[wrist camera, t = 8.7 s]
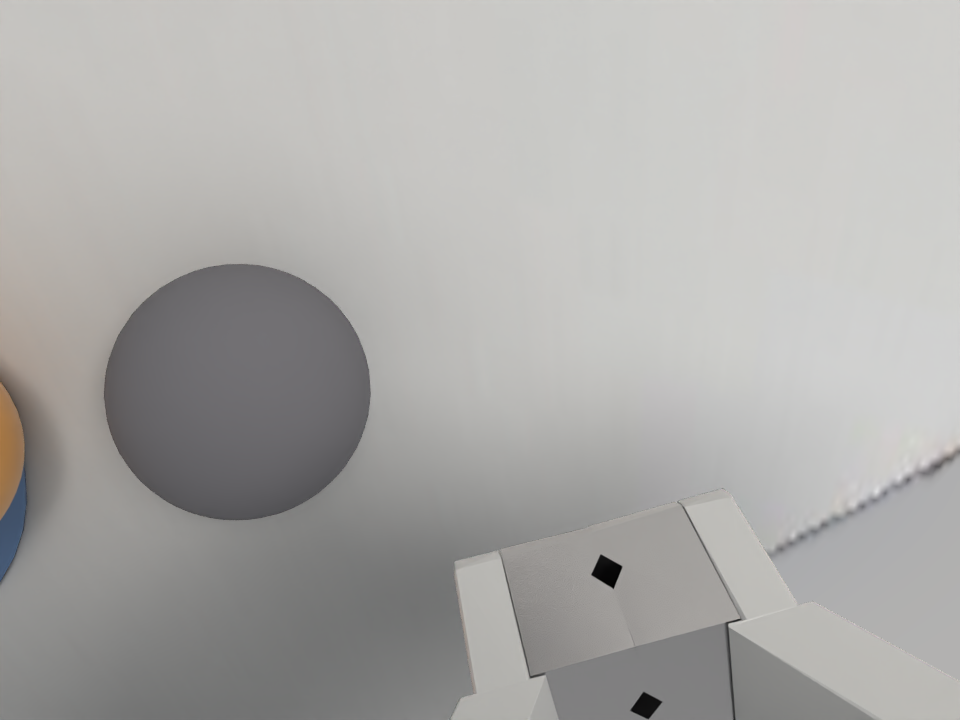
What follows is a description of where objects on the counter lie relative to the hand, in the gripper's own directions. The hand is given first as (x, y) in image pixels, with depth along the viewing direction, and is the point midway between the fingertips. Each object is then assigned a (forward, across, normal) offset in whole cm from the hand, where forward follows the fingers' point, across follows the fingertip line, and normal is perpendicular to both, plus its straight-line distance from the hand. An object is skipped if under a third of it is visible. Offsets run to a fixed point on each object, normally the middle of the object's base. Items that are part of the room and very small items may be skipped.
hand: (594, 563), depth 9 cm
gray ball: (+8, +5, +2) cm, 10 cm away
